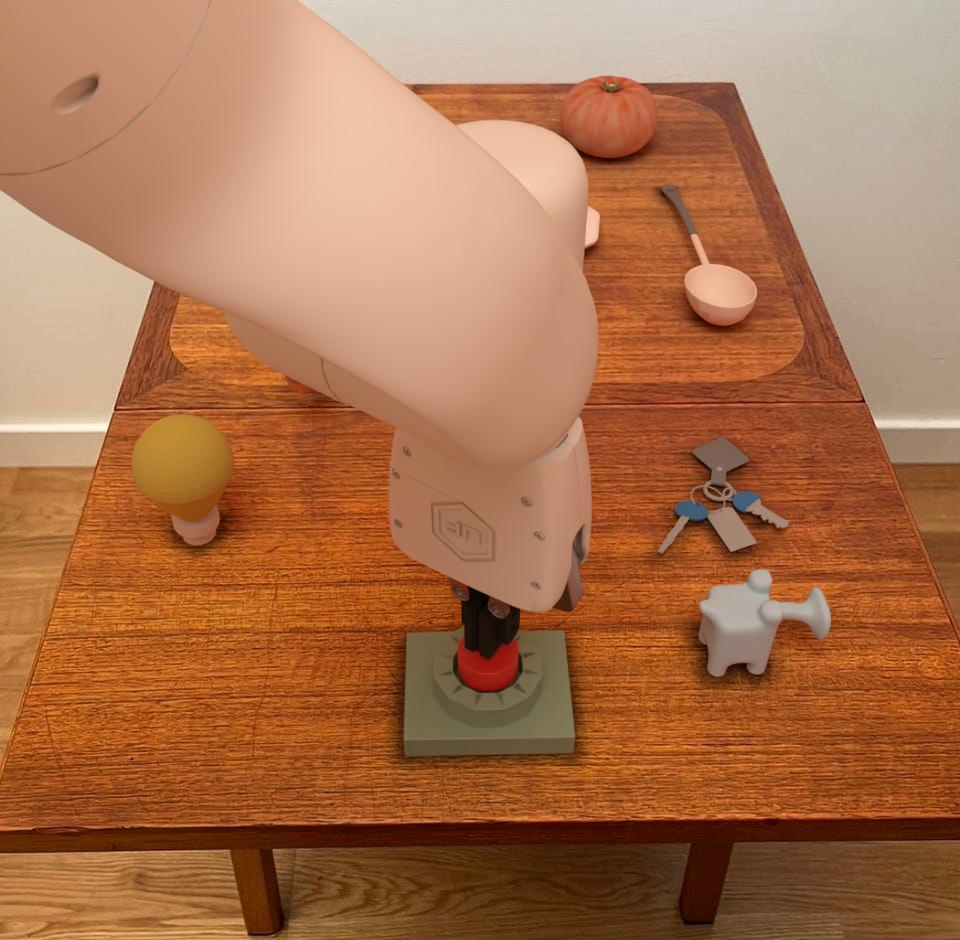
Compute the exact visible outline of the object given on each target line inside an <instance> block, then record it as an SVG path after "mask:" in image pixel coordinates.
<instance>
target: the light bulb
mask: <svg viewBox="0 0 960 940" xmlns="http://www.w3.org/2000/svg"><path fill="white" fill-rule="evenodd" d="M234 457H235V456H234V452H233V450H232V447H231V444H230V442H229V440H228V438H227V436H226V435H225V434H224V432H222V430H220V428H218V426H216V425H215V424H214V423H213V422H211V421H209V420H208V419H205V418H202V417H201V416H198V415H194V414H186V413H181V414H179V413H178V414H172V415H168V416H164V417H162V418H160V419H158V420H156V421H154V422H152V423H151V424H150V425H149V426H147V427H146V428H145V429H144V430H143V432H142V433H141V434H140V436H139V437H138V438H137V440H136V442H135V443H134V446H133V450H132V455H131V460H130V468H131V474H132V477H133V480H134V483H135V486H136V488H137V489H138V490H139V491H140V493H142V494H143V495H144V496H145V497H146V498H147V499H148V500H149V501H151V502H152V503H153V504H155V505H156V506H157V507H158V508H160V510H162V511H164V512H166V513H168V514H171V515H170V519H171V522H172V525H173V529H174V531H175V532H176V533H177V534H178V536H181V537H182V539H183V541H184V542H185V543H187V544H189V545H191V546H202V545H205V544H207V543H209V542H211V541H212V540H213V539H214V538H215V536H216V535H217V528H218V526H219V525H220V521H221V516H220V512H219V508H218V505H217V504H218V502H219V501H220V500H221V498H222V496H223V494H224V493H225V490H226V489H227V486H228V484H229V482H230V480H231V478H232V476H233V473H234V468H235V467H234V466H235V458H234Z"/></svg>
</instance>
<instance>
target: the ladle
mask: <svg viewBox="0 0 960 940" xmlns="http://www.w3.org/2000/svg"><path fill="white" fill-rule="evenodd" d="M660 190H661V192H662V193H663V194H664V195H665V197H666V198H667V199H668V200H669V201H670V203H672V204H673V205H674V207H675V209H676V211H677V213H678V215H679V216H680V219H681V220H682V222H683V225H684V227H685V229H686V232H687V234H688V236H689V238H690V241H691V242H692V244H693V247H694V250H695V252H696V255H697V257H698V259H699V262H700V265H697V266H694V267H692V268H691V269H689V270H688V271H687V272H686V273H685V276H684V279H683V281H684V282H683V283H684V291H685V295H686V298H687V300H688V303H689V305H690V307H691V308H692V310H693V311H694V312H695V313H696V314H697V315H698V316H699V317H700V318H701V319H703V320H704V321H705V322H708V323H709V324H712V325H715V326H723V327H726V326H732V325H734V324H737V323H738V322H741V321H742V320H744V319H746V317H747V316H748V315H749V313H750V312H751V311H752V309H753V308H754V307H755V303H756V300H757V296H758V288H757V286H756V283H755V282H754V281H753V279H751V278H750V276H748V275H747V274H745V273H744V272H743V271H741V270H739V269H736V268H734V267H731V266H728V265H723V264H719V263H718V264H717V263H710V261H709V259H708V256H707V254H706V252H705V248H704V247H703V244H702V242H701V240H700V238H699V234H698V231H697V228H696V227H695V224H694V222H693V220H692V218H691V215H690V213H689V211H688V209H687V208H686V206H685V204H684V202H683V200H682V197H681V195H680V194H679V191H678V190H677V188H675V186H674V185H673V184H664V185H661V187H660Z"/></svg>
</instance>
